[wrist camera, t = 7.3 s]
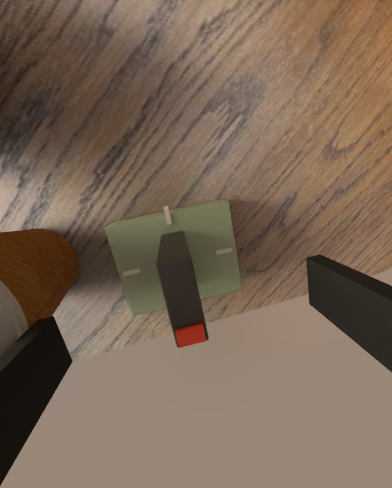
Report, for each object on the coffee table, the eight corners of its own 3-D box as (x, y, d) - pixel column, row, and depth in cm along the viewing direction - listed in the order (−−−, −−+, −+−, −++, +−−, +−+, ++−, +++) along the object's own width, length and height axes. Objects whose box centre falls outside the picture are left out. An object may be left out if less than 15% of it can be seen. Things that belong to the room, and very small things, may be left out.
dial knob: (160, 234, 17) (154, 266, 10) (182, 230, 17) (191, 258, 10) (174, 290, 19) (177, 351, 12) (194, 285, 19) (209, 343, 12)
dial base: (219, 192, 20) (228, 193, 17) (233, 281, 22) (244, 296, 19) (111, 215, 19) (100, 220, 16) (138, 304, 22) (133, 323, 19)
